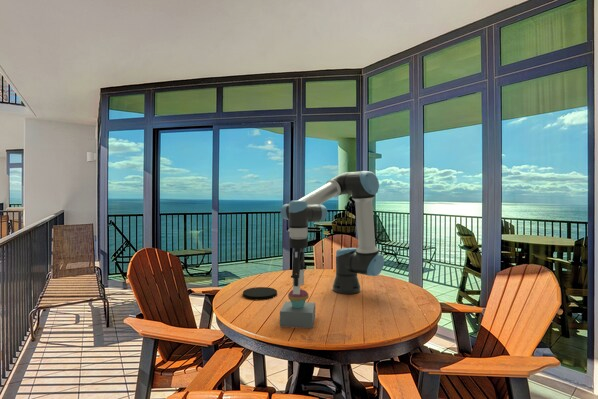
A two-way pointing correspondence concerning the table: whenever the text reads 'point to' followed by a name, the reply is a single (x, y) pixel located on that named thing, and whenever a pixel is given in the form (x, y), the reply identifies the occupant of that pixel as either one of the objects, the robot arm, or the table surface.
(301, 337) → the table surface
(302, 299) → the cupcake
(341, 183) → the robot arm
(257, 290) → the wireless charger
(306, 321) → the plinth
